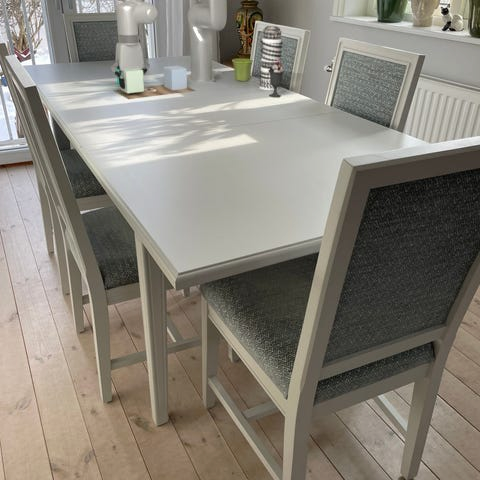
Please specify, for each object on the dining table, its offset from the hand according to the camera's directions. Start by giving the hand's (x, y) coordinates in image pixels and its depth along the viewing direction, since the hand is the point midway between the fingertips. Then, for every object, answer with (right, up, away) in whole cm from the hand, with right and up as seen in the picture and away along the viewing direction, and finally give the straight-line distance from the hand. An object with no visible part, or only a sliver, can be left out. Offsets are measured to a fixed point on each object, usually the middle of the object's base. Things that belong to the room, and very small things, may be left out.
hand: (131, 86), depth 202 cm
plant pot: (+43, +13, +34) cm, 57 cm away
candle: (-7, +5, +17) cm, 19 cm away
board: (+8, 0, +8) cm, 11 cm away
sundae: (+57, -1, +11) cm, 58 cm away
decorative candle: (+55, +6, +22) cm, 60 cm away
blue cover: (+16, +4, +13) cm, 21 cm away
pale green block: (0, -1, +1) cm, 1 cm away
